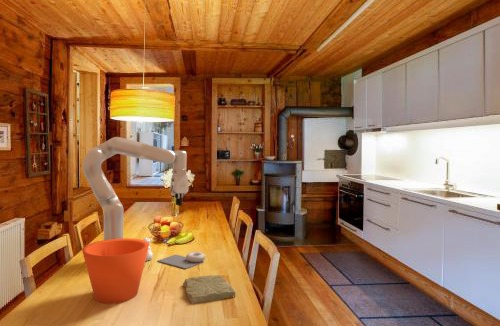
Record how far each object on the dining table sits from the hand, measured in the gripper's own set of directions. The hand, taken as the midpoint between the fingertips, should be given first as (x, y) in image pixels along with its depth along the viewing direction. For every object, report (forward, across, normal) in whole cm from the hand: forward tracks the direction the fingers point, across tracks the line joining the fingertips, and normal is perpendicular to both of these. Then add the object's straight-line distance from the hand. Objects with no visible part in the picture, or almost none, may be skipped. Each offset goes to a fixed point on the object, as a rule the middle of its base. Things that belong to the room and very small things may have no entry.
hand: (178, 205), depth 198 cm
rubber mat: (+27, -10, -13) cm, 32 cm away
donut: (+25, -2, -13) cm, 28 cm away
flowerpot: (+28, -54, -22) cm, 65 cm away
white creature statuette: (+28, -18, +5) cm, 34 cm away
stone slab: (+28, -29, -48) cm, 63 cm away
